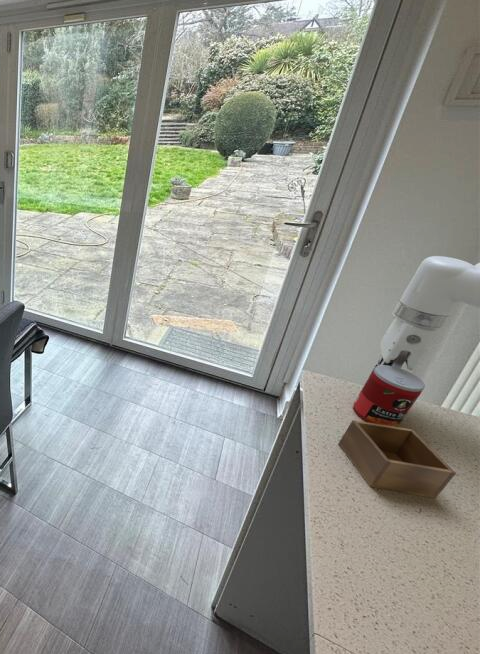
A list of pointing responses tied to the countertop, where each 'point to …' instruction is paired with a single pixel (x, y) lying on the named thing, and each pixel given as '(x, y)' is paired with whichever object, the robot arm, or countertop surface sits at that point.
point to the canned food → (388, 395)
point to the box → (395, 459)
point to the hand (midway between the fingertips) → (377, 382)
